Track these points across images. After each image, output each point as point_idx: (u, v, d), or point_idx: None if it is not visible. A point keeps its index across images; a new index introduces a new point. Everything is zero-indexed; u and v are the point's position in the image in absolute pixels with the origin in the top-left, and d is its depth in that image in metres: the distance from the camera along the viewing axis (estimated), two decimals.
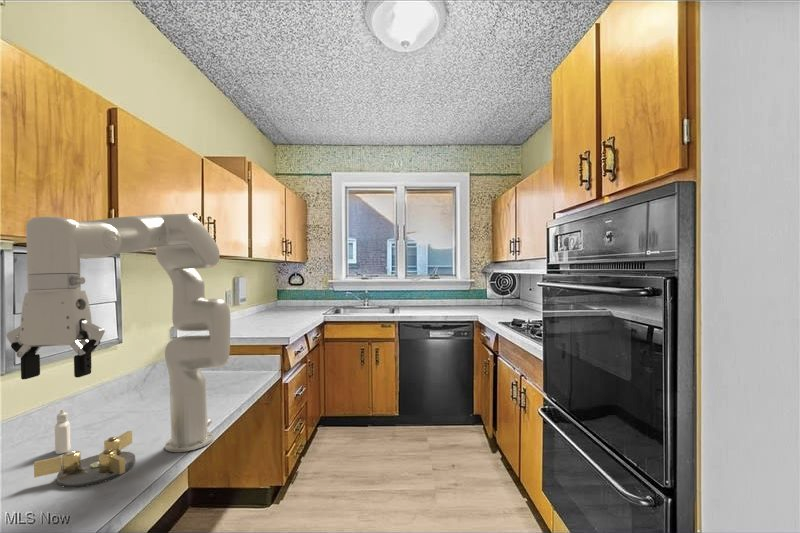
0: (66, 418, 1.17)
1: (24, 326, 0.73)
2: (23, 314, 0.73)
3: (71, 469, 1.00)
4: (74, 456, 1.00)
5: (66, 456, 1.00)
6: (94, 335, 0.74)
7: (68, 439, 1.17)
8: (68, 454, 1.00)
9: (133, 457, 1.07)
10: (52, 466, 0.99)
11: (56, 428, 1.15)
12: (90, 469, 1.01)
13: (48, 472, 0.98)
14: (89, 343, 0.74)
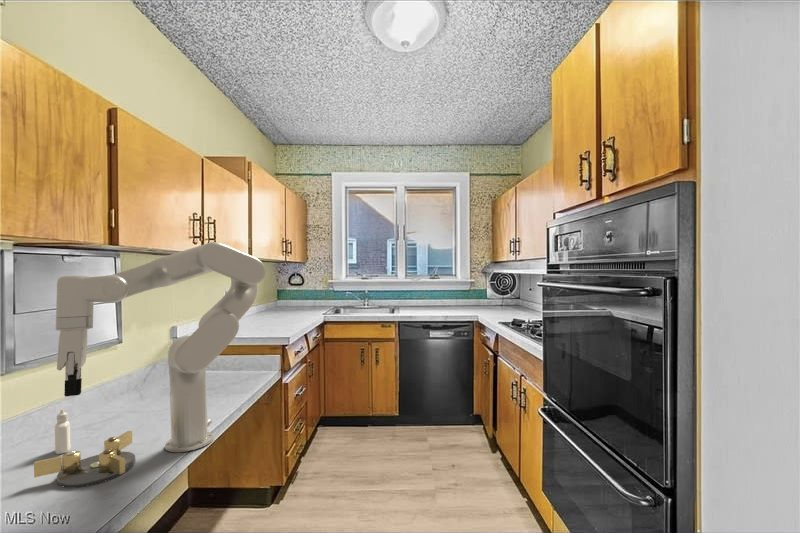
0: (66, 418, 1.17)
1: (82, 353, 1.02)
2: (82, 345, 1.02)
3: (71, 469, 1.00)
4: (74, 456, 1.00)
5: (66, 456, 1.00)
6: None
7: (68, 439, 1.17)
8: (68, 454, 1.00)
9: (133, 457, 1.07)
10: (52, 466, 0.99)
11: (56, 428, 1.15)
12: (90, 469, 1.01)
13: (48, 472, 0.98)
14: None
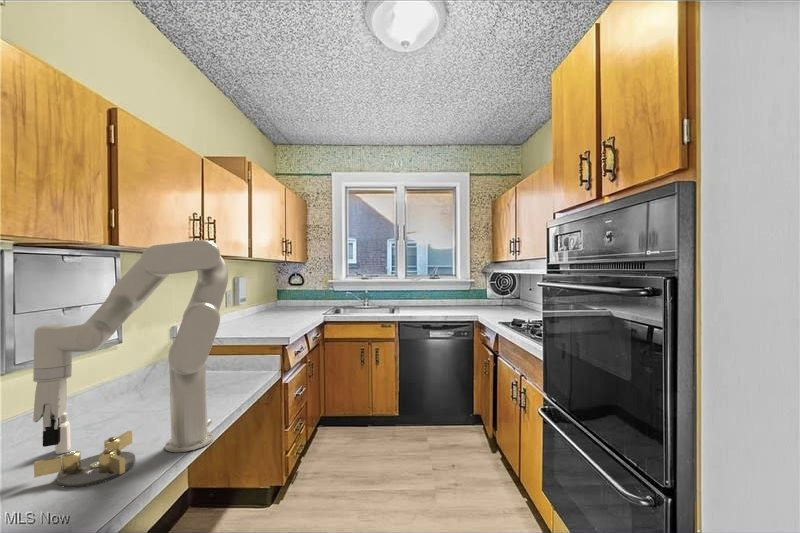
0: (66, 418, 1.17)
1: (59, 404, 1.02)
2: (59, 395, 1.02)
3: (71, 469, 1.00)
4: (74, 456, 1.00)
5: (66, 456, 1.00)
6: None
7: (68, 439, 1.17)
8: (68, 454, 1.00)
9: (133, 457, 1.07)
10: (52, 466, 0.99)
11: None
12: (90, 469, 1.01)
13: (48, 472, 0.98)
14: (59, 417, 1.07)
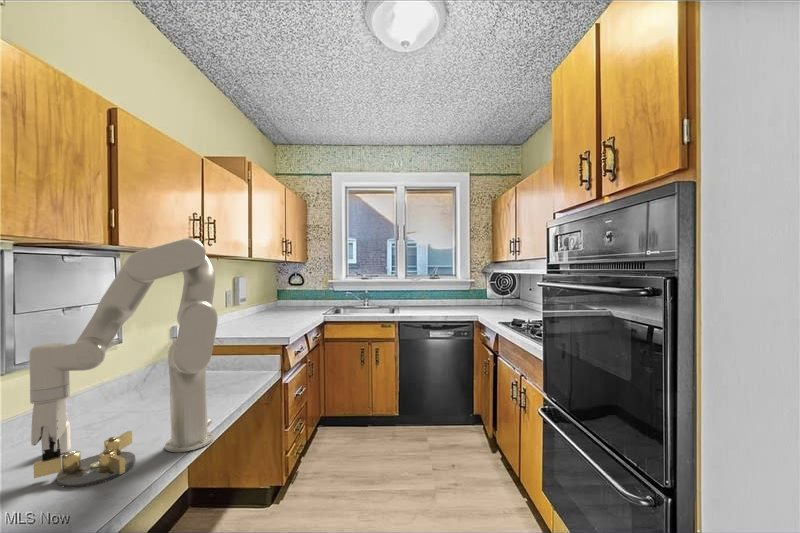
0: (66, 418, 1.17)
1: (58, 426, 0.99)
2: (57, 417, 0.99)
3: (72, 469, 1.00)
4: (75, 456, 1.00)
5: (67, 456, 1.00)
6: None
7: (68, 439, 1.17)
8: (68, 454, 1.00)
9: (133, 457, 1.07)
10: (52, 467, 0.99)
11: None
12: (90, 469, 1.01)
13: (48, 472, 0.98)
14: None
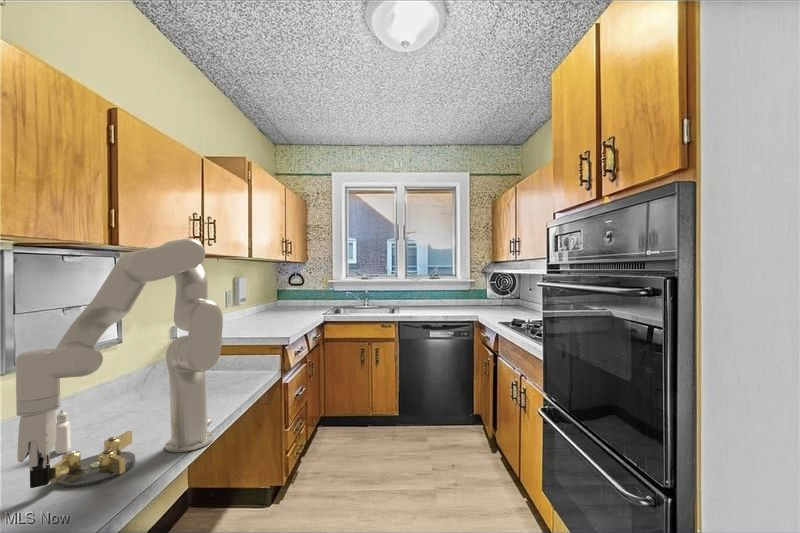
0: (66, 418, 1.17)
1: (47, 440, 0.90)
2: (46, 430, 0.90)
3: (80, 465, 1.02)
4: (80, 452, 1.02)
5: (75, 454, 1.01)
6: None
7: (68, 439, 1.17)
8: (73, 453, 1.01)
9: (133, 457, 1.07)
10: (65, 468, 0.98)
11: (56, 428, 1.15)
12: (90, 469, 1.01)
13: (63, 474, 0.97)
14: None
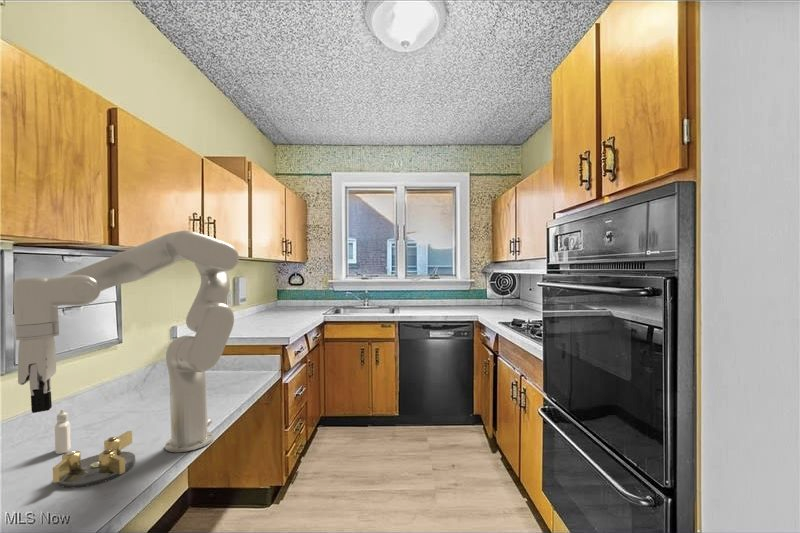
0: (66, 418, 1.17)
1: (47, 364, 0.90)
2: (46, 355, 0.90)
3: (80, 465, 1.02)
4: (80, 452, 1.02)
5: (76, 454, 1.01)
6: None
7: (68, 439, 1.17)
8: (74, 453, 1.01)
9: (133, 457, 1.07)
10: (66, 468, 0.98)
11: (56, 428, 1.15)
12: (90, 469, 1.01)
13: (65, 474, 0.97)
14: None
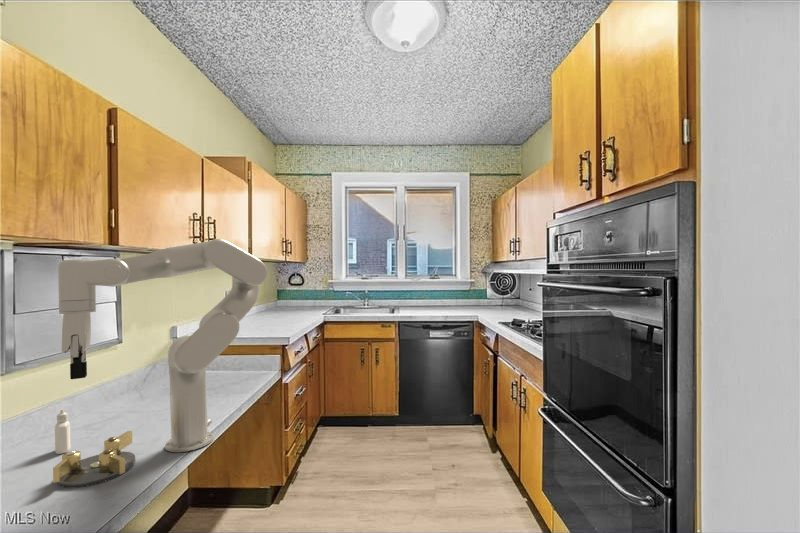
0: (66, 418, 1.17)
1: (86, 336, 1.03)
2: (86, 328, 1.03)
3: (80, 465, 1.02)
4: (80, 452, 1.02)
5: (76, 454, 1.01)
6: None
7: (68, 439, 1.17)
8: (74, 453, 1.01)
9: (133, 457, 1.07)
10: (67, 468, 0.98)
11: (56, 428, 1.15)
12: (90, 469, 1.01)
13: (65, 474, 0.97)
14: None
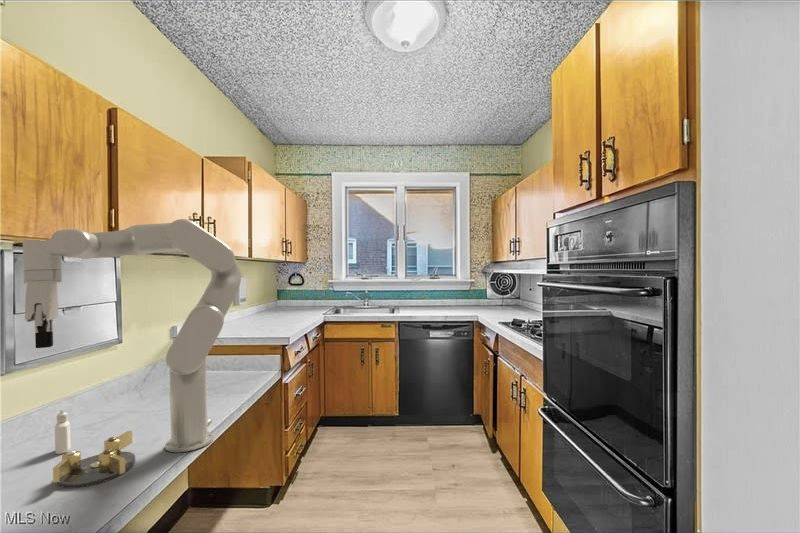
0: (66, 418, 1.17)
1: (50, 305, 1.04)
2: (50, 297, 1.04)
3: (80, 465, 1.02)
4: (80, 452, 1.02)
5: (76, 454, 1.01)
6: None
7: (68, 439, 1.17)
8: (74, 453, 1.01)
9: (133, 457, 1.07)
10: (67, 468, 0.98)
11: (56, 428, 1.15)
12: (90, 469, 1.01)
13: (65, 474, 0.97)
14: None
